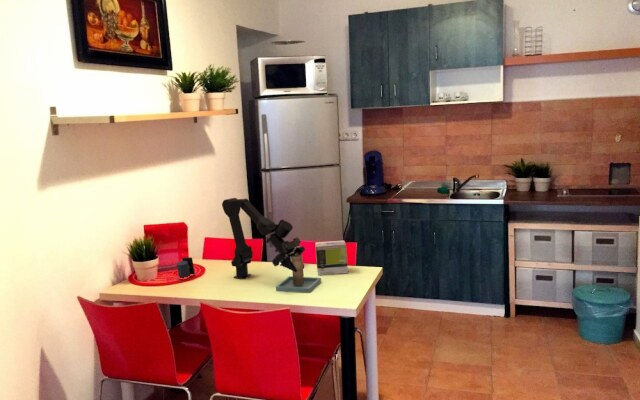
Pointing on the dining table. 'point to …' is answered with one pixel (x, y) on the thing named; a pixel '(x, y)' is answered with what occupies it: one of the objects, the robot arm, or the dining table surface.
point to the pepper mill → (298, 270)
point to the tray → (304, 288)
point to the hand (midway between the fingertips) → (300, 270)
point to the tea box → (331, 257)
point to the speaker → (185, 267)
